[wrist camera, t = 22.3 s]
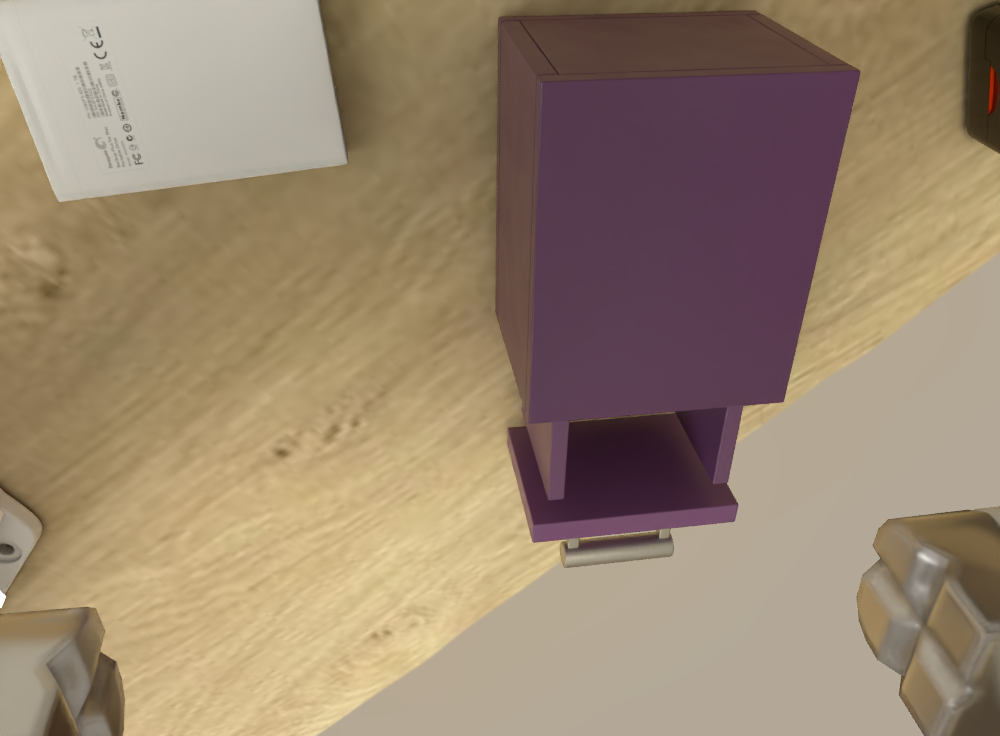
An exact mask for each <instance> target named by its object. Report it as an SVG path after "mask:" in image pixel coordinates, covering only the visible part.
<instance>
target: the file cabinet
mask: <svg viewBox="0 0 1000 736" xmlns="http://www.w3.org/2000/svg"><path fill="white" fill-rule="evenodd" d="M859 76H860V70H858V69H856V68H855V67H853V66H851V65H849V64H847V63H845V62H844V61H842V60H840V59H838V58H837V57H835V56H833V55H831V54H830V53H828V52H826V51H825V50H823V49H821V48H819V47H818V46H816V45H814V44H812V43H811V42H809V41H807V40H805V39H804V38H802V37H800V36H799V35H797V34H795V33H793V32H792V31H790V30H788V29H786V28H785V27H783V26H781V25H780V24H778V23H776V22H774V21H773V20H771V19H769V18H767V17H766V16H764V15H762V14H760V13H759V12H757V11H723V12H682V13H641V14H600V15H560V16H519V17H499V19H498V103H497V211H496V315H497V318H498V322H499V325H500V329H501V332H502V335H503V339H504V342H505V345H506V349H507V352H508V355H509V359H510V362H511V365H512V369H513V372H514V376H515V379H516V382H517V386H518V389H519V392H520V396H521V399H522V402H523V406H524V409H525V412H526V417H527V420H528V423H529V424H537V423H549V422H560V421H572V420H583V419H595V418H607V417H618V416H630V415H641V414H653V413H664V412H676V411H687V410H699V409H711V408H722V407H734V406H745V405H757V404H768V403H780V402H784V398H785V394H786V390H787V385H788V381H789V377H790V373H791V368H792V364H793V360H794V355H795V351H796V347H797V342H798V338H799V334H800V330H801V325H802V321H803V317H804V312H805V308H806V304H807V300H808V295H809V291H810V287H811V282H812V278H813V274H814V270H815V265H816V261H817V257H818V252H819V248H820V244H821V239H822V235H823V231H824V227H825V222H826V218H827V214H828V209H829V205H830V201H831V197H832V192H833V188H834V184H835V179H836V175H837V171H838V166H839V162H840V158H841V154H842V149H843V145H844V141H845V136H846V132H847V128H848V124H849V119H850V115H851V111H852V106H853V102H854V98H855V94H856V89H857V85H858V81H859Z"/></svg>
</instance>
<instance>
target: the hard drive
mask: <svg viewBox="0 0 1000 736" xmlns="http://www.w3.org/2000/svg"><path fill="white" fill-rule="evenodd" d="M0 56H1V59H2V61H3V64H4V66H5V69H6V72H7V74H8V77H9V79H10V82H11V84H12V87H13V89H14V92H15V94H16V97H17V99H18V102H19V105H20V107H21V110H22V113H23V115H24V117H25V120H26V123H27V125H28V128H29V130H30V133H31V136H32V138H33V141H34V143H35V145H36V148H37V151H38V153H39V156H40V158H41V161H42V164H43V166H44V169H45V171H46V174H47V176H48V179H49V181H50V184H51V187H52V189H53V192H54V194H55V196H56V197H57V199H58V201H59V202H64V201H71V200H79V199H86V198H95V197H103V196H111V195H118V194H126V193H135V192H142V191H150V190H158V189H166V188H173V187H180V186H188V185H196V184H203V183H211V182H219V181H226V180H234V179H242V178H249V177H257V176H265V175H273V174H280V173H287V172H294V171H301V170H308V169H316V168H324V167H331V166H339V165H346V164H348V153H347V146H346V141H345V137H344V131H343V126H342V121H341V115H340V110H339V104H338V99H337V94H336V88H335V83H334V77H333V72H332V67H331V62H330V56H329V51H328V45H327V40H326V35H325V29H324V24H323V18H322V13H321V7H320V2H319V0H0Z"/></svg>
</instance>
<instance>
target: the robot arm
mask: <svg viewBox="0 0 1000 736" xmlns="http://www.w3.org/2000/svg"><path fill="white" fill-rule="evenodd" d="M41 533H42V524H41V522H40V520H39V519H38V518H37V517H36V516H35V515H34V514H33V513H32V512H31V511H30V510H28V509H27V508H26V507H25V506H23V505H22V504H20V503H19V502H18V501H16V500H15V499H13V498H12V497H11V496H9V495H8V494H6V493H5V492H4V491H3V490H2V489H1V488H0V608H1V607H2V605H3V602H4V600H5V597H6V596H5V595H4V594H5V593H6V591H7V590H8V588H9V586H10V585H11V583H12V582H13V580H14V578H15V577H16V575H17V573H18V572H19V570H20V569H21V567H22V565H23V564H24V562H25V560H26V559H27V557H28V556H29V554H30V552H31V551H32V549H33V548H34V546H35V544H36V542H37V541H38V539H39V537H40V535H41ZM5 544H9V545H11V546H8V545H5ZM873 547H874V549H875V550H876V552H877V553H878V555H879V556H880V558H881V559H880V560H878V561H877V562H876V563H875V564H874V565H873V566H872V567H871V568H870V569H868V570H867V571H866V572H865V573H864V574H863V576H862V579H861V583H860V586H859V590H858V593H857V606H858V616H859V622H860V625H861V628H862V631H863V634H864V636H865V639H866V641H867V643H868V644H869V646H870V648H871V650H872V651H873V653H874V655H875V656H876V658H877V660H879V661H880V662H882V663H883V664H885V665H886V666H888V667H889V668H891V669H892V670H894V671H895V672H897V673H898V674H900V675H901V684H900V692H899V696H900V698H901V699H902V701H903V702H904V704H905V706H906V707H907V709H908V710H909V712H910V714H911V715H912V717H913V718H914V720H915V722H916V723H917V725H918V727H919V728H920V730H921V731H922V733H923V735H924V736H1000V506H999V507H991V508H982V509H975V510H973V511H972V510H962V511H954V512H946V513H937V514H930V515H920V516H912V517H905V518H895V519H888V520H887V521H886V522H885V523H884V524H883V525H882V526H881V527H880V528H879V529H878V532H877V534H876V537H875V540H874V543H873ZM104 634H105V630H104V627H103V625H102V622H101V620H100V618H99V615H98V613H97V610H96V608H90V607H79V608H67V609H55V610H43V611H31V612H19V613H8V614H0V736H123V731H124V706H125V698H124V691H123V685H122V678H121V675H120V672H119V669H118V666H117V663H116V661H114V660H113V659H111V658H109V657H108V656H106V655H105V654H103V653H101V652H100V650H101V646H102V642H103V638H104Z"/></svg>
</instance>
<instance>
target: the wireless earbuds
mask: <svg viewBox="0 0 1000 736" xmlns="http://www.w3.org/2000/svg"><path fill="white" fill-rule="evenodd" d="M967 131H968V134H969V136H970V137H972V138H973V139H975V140H977V141H978V142H980V143H982V144H984V145H985V146H987V147H989V148H990V149H992V150H994V151H996V152H997V153H999V154H1000V4H999V5H996V6H993V7H990V8H987V9H984V10H982V11H980V12H978V13H977V14H976V15H975V16H974V17H973V19H972V20H971V24H970V48H969V78H968V108H967Z"/></svg>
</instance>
